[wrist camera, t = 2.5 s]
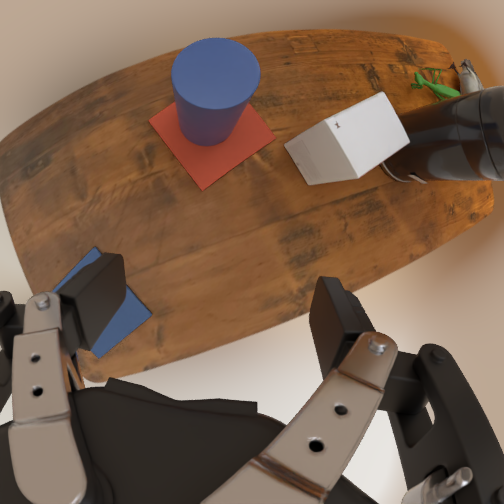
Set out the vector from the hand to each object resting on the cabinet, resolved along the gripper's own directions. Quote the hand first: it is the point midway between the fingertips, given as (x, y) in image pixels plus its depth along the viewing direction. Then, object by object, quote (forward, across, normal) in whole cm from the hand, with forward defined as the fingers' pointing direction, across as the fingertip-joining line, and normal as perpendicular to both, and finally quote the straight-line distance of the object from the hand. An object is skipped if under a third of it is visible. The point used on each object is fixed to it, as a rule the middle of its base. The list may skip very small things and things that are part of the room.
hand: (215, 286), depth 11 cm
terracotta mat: (+21, +4, -7) cm, 22 cm away
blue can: (+20, +4, -8) cm, 22 cm away
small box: (+23, -9, -6) cm, 26 cm away
